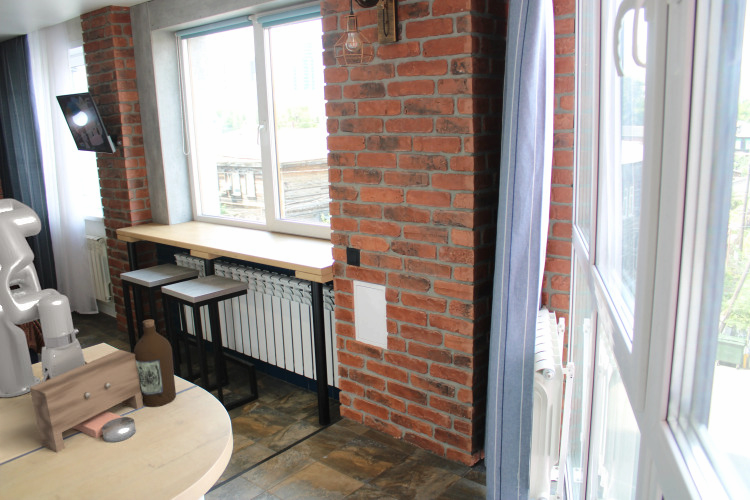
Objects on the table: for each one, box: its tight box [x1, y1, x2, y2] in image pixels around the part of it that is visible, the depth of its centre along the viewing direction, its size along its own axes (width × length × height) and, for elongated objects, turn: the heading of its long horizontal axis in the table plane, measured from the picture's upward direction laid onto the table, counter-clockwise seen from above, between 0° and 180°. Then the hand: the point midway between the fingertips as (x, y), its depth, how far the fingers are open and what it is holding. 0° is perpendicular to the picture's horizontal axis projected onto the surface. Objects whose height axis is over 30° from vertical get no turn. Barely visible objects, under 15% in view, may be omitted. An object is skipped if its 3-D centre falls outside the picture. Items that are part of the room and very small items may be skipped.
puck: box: [102, 416, 137, 444], centre depth 154 cm, size 8×8×3 cm
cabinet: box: [30, 349, 144, 453], centre depth 157 cm, size 8×26×17 cm, turn 149°
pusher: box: [71, 410, 123, 439], centre depth 159 cm, size 19×8×14 cm, turn 59°
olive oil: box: [132, 319, 177, 408], centre depth 169 cm, size 11×11×25 cm
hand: (70, 398), depth 163 cm, fingers closed on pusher, 4 cm apart
